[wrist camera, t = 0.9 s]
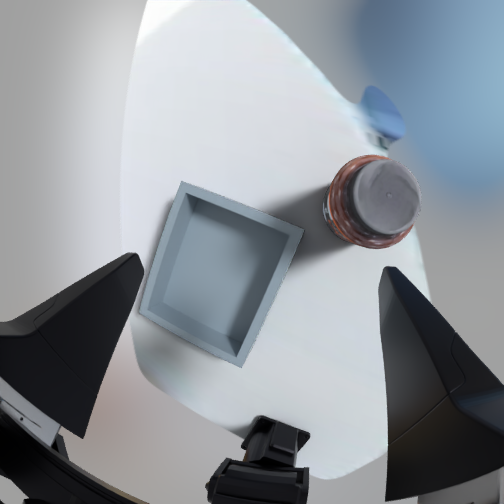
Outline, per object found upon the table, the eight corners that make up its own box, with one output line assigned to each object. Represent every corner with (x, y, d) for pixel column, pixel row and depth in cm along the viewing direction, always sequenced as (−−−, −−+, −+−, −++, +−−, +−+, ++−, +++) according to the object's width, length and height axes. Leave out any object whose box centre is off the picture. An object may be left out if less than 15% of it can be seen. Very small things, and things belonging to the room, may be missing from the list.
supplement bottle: (314, 230, 24) (317, 232, 13) (331, 169, 24) (346, 124, 13) (374, 251, 23) (421, 267, 12) (391, 189, 23) (445, 163, 12)
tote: (251, 350, 27) (241, 368, 23) (159, 302, 28) (138, 312, 25) (304, 229, 25) (303, 229, 21) (199, 187, 26) (181, 180, 22)
